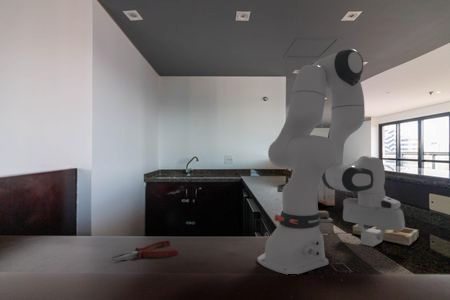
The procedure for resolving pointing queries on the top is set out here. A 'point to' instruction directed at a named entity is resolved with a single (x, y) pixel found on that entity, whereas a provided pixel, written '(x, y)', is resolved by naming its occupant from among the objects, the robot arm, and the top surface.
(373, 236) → the white rectangular block
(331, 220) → the packaged product
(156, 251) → the pliers
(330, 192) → the cracker box
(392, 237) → the rack
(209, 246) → the top surface
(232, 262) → the top surface
